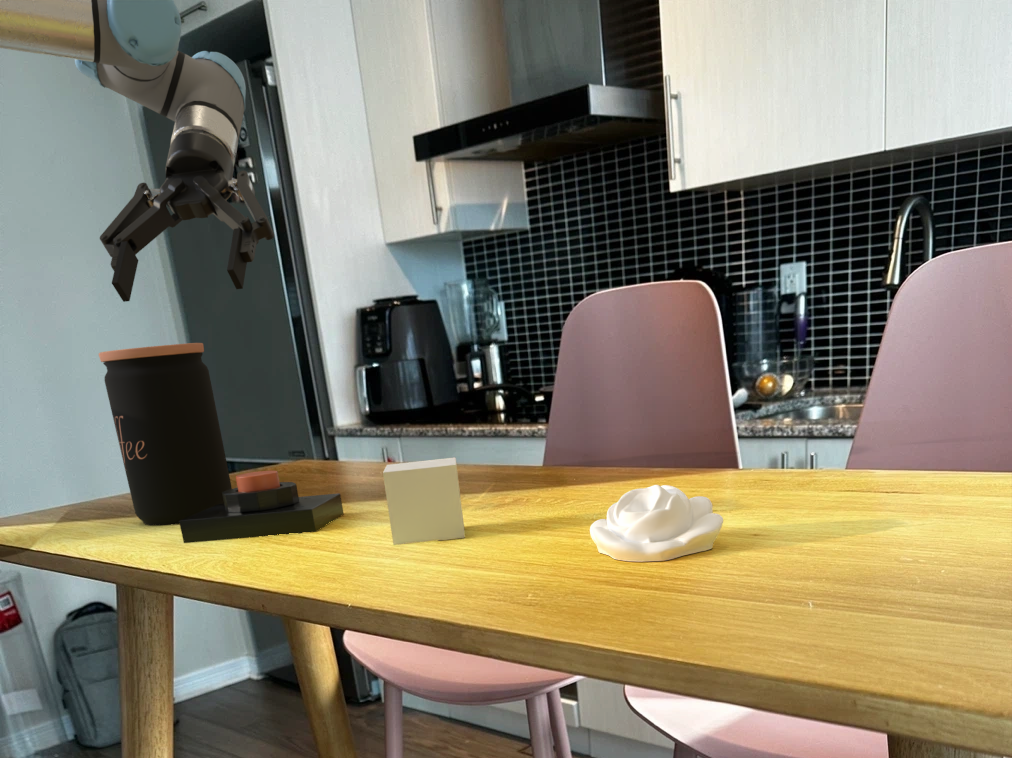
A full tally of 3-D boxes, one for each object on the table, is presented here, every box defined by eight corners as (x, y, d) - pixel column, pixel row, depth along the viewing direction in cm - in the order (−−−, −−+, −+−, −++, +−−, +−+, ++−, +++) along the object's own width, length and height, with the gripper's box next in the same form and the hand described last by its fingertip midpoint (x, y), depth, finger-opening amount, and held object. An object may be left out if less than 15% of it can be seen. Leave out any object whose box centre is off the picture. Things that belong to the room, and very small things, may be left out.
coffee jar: (140, 518, 119) (103, 353, 112) (235, 505, 121) (203, 344, 115) (134, 531, 109) (92, 351, 103) (237, 517, 111) (202, 341, 105)
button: (232, 496, 99) (229, 478, 98) (247, 490, 102) (244, 472, 102) (272, 493, 98) (269, 474, 97) (286, 487, 102) (282, 469, 101)
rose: (742, 472, 74) (696, 495, 66) (743, 533, 76) (699, 563, 68) (615, 476, 79) (558, 498, 71) (619, 534, 80) (564, 562, 72)
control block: (183, 543, 98) (174, 501, 96) (222, 525, 107) (215, 486, 105) (315, 532, 96) (308, 489, 95) (344, 514, 105) (337, 475, 104)
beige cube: (464, 526, 91) (456, 457, 89) (465, 538, 86) (456, 464, 84) (396, 533, 91) (386, 464, 89) (393, 545, 85) (382, 472, 83)
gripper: (311, 173, 127) (295, 300, 118) (120, 196, 130) (90, 322, 121) (290, 116, 120) (271, 246, 111) (89, 142, 123) (55, 271, 114)
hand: (177, 286), depth 116 cm, fingers open, 13 cm apart
